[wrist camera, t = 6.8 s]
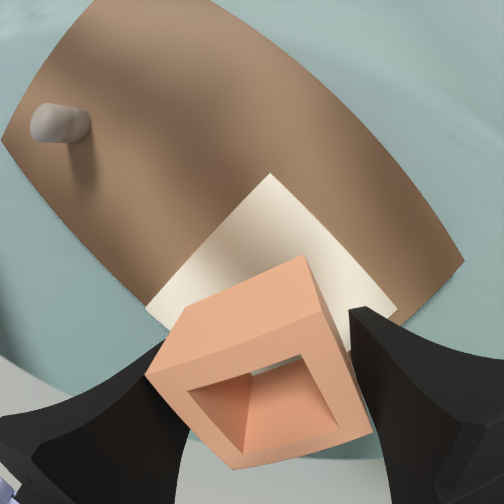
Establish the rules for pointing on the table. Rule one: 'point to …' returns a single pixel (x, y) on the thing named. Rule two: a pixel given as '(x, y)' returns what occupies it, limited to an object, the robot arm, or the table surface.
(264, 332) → the hollow peach cube
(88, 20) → the post board
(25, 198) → the table surface
